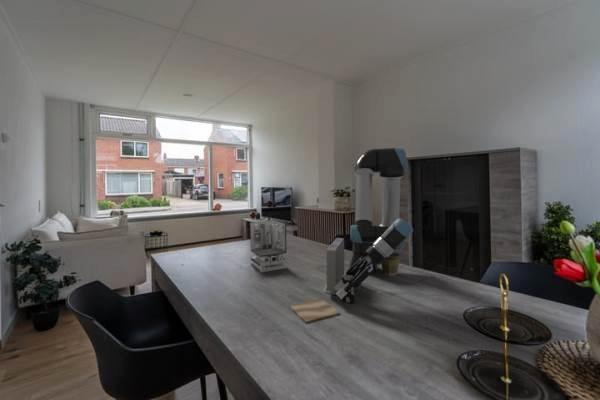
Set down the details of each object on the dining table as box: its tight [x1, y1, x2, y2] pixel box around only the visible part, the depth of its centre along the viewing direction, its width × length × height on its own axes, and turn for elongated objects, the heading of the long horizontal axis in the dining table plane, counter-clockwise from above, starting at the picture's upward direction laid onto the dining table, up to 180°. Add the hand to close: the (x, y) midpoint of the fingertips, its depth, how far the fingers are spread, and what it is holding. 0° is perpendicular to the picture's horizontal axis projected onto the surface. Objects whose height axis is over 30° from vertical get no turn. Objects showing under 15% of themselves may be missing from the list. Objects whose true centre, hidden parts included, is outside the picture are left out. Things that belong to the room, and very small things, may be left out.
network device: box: [323, 237, 345, 296], centre depth 126 cm, size 26×9×20 cm, turn 163°
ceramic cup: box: [380, 252, 401, 277], centre depth 144 cm, size 13×10×10 cm
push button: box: [338, 274, 356, 304], centre depth 110 cm, size 7×5×10 cm
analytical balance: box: [249, 220, 288, 273], centre depth 156 cm, size 16×19×25 cm
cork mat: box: [288, 297, 341, 324], centre depth 103 cm, size 14×14×1 cm
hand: (337, 293), depth 110 cm, fingers closed on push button, 5 cm apart
